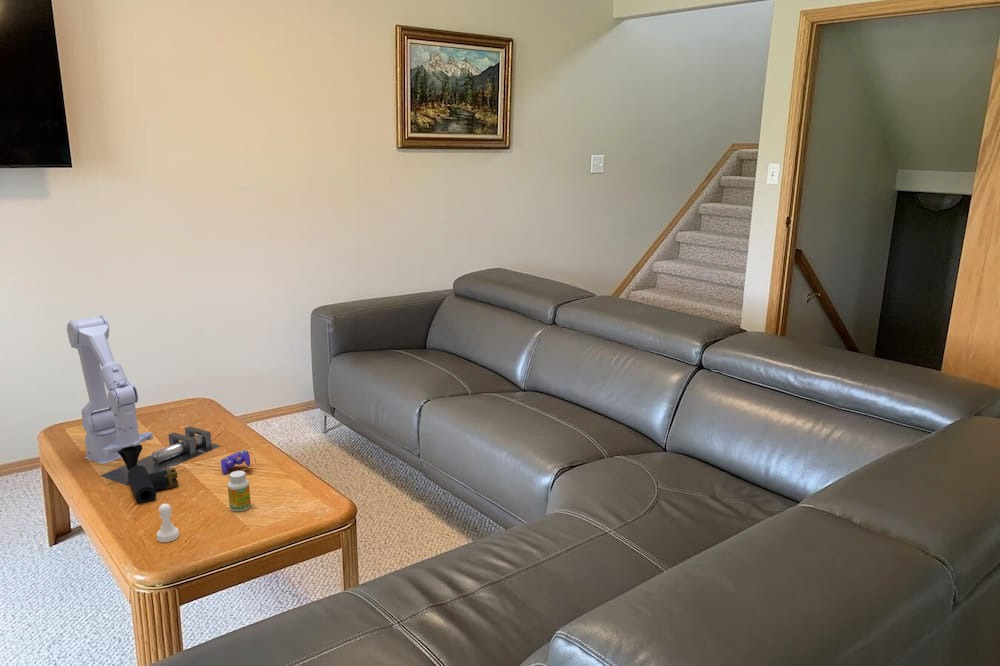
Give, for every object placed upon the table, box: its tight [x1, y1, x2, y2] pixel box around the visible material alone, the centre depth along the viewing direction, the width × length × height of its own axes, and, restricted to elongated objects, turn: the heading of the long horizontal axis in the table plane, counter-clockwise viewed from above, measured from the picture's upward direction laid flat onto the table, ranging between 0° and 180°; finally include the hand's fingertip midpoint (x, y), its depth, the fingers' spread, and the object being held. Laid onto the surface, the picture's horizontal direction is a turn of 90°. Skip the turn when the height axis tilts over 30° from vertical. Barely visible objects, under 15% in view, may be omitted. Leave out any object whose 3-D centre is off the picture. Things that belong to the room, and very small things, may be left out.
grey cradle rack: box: [99, 426, 222, 487], centre depth 227 cm, size 13×33×6 cm, turn 151°
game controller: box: [220, 450, 257, 479], centre depth 220 cm, size 10×8×10 cm
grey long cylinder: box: [151, 434, 202, 464], centre depth 232 cm, size 18×4×4 cm, turn 150°
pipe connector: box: [128, 465, 179, 504], centre depth 208 cm, size 12×5×15 cm
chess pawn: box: [156, 503, 180, 543], centre depth 183 cm, size 5×5×9 cm
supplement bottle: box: [227, 470, 252, 512], centre depth 198 cm, size 5×5×10 cm
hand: (132, 469), depth 218 cm, fingers closed
